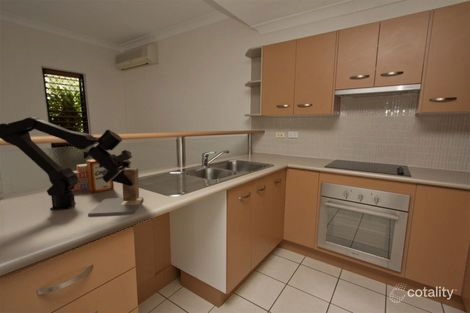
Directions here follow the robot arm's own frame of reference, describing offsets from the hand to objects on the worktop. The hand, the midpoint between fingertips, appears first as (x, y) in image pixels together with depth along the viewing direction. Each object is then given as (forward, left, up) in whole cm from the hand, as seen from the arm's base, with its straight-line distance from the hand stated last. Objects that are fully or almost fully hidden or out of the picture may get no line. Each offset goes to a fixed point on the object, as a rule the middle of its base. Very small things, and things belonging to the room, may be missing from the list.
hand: (134, 183), depth 95 cm
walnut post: (-1, 0, -7) cm, 7 cm away
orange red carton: (-32, +26, -9) cm, 42 cm away
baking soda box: (-22, +22, -9) cm, 32 cm away
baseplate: (-6, -3, -9) cm, 11 cm away
